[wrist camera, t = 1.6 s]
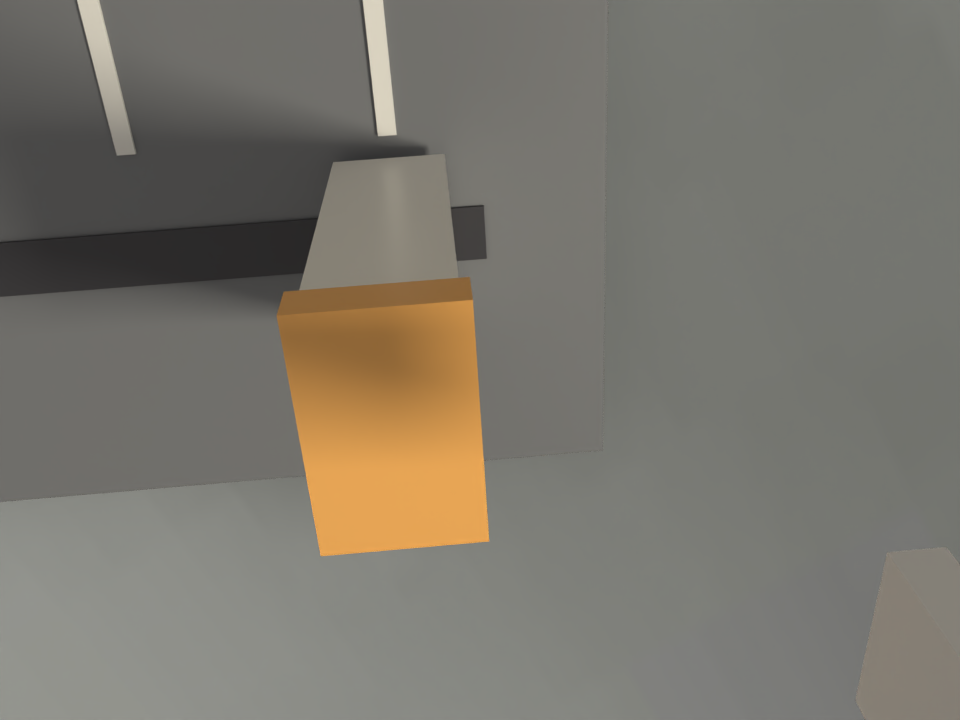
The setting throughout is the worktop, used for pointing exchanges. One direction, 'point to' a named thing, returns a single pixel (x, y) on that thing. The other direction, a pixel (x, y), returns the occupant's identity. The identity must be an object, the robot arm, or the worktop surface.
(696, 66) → the worktop surface
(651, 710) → the worktop surface
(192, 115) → the fader panel
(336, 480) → the fader knob
